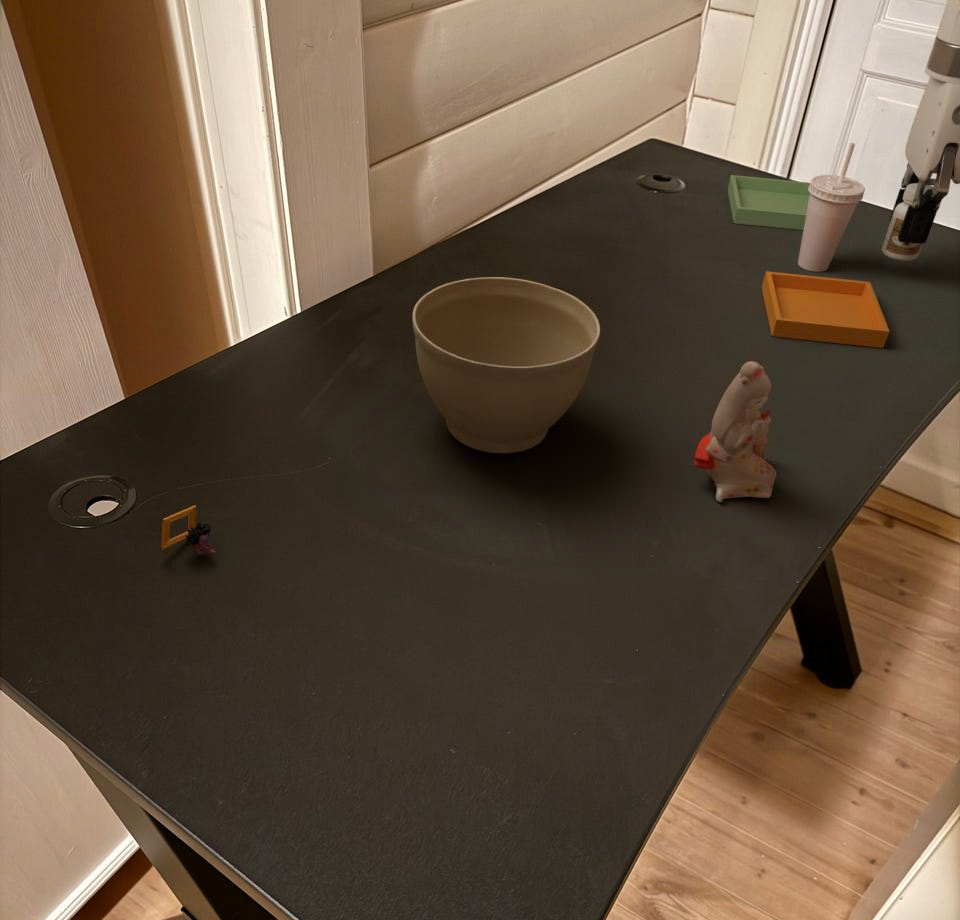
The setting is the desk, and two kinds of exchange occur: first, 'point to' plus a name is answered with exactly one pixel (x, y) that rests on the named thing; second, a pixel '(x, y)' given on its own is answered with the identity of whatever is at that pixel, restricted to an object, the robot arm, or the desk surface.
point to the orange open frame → (188, 532)
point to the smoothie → (828, 216)
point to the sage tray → (768, 202)
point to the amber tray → (823, 309)
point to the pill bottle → (891, 242)
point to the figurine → (739, 438)
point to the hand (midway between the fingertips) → (907, 231)
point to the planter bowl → (503, 358)
